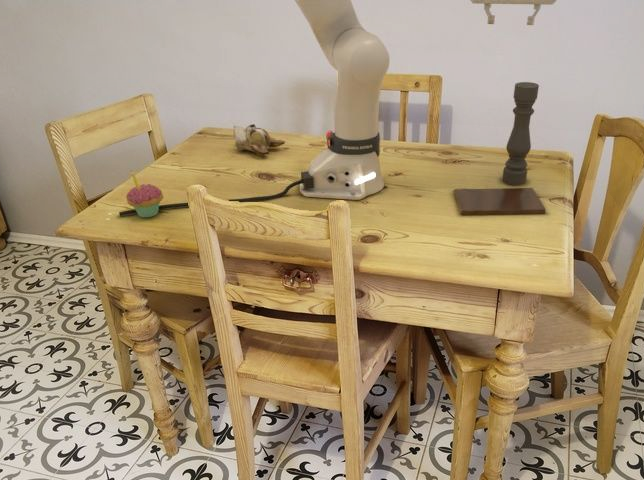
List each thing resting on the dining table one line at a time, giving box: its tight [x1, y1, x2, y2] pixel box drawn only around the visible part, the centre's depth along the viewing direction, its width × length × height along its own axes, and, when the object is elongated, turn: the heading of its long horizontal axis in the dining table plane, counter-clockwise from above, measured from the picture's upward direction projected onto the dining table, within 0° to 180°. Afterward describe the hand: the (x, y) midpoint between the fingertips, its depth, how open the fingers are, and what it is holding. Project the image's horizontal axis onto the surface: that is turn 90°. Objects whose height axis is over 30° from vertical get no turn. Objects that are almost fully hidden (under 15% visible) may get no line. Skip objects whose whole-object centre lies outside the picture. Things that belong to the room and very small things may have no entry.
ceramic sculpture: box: [233, 124, 286, 156], centre depth 183 cm, size 11×9×15 cm
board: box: [453, 187, 546, 216], centre depth 150 cm, size 20×13×1 cm, turn 89°
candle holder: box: [501, 81, 540, 186], centre depth 155 cm, size 6×6×25 cm
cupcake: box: [126, 169, 164, 218], centre depth 146 cm, size 9×8×12 cm
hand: (510, 24), depth 147 cm, fingers open, 8 cm apart
